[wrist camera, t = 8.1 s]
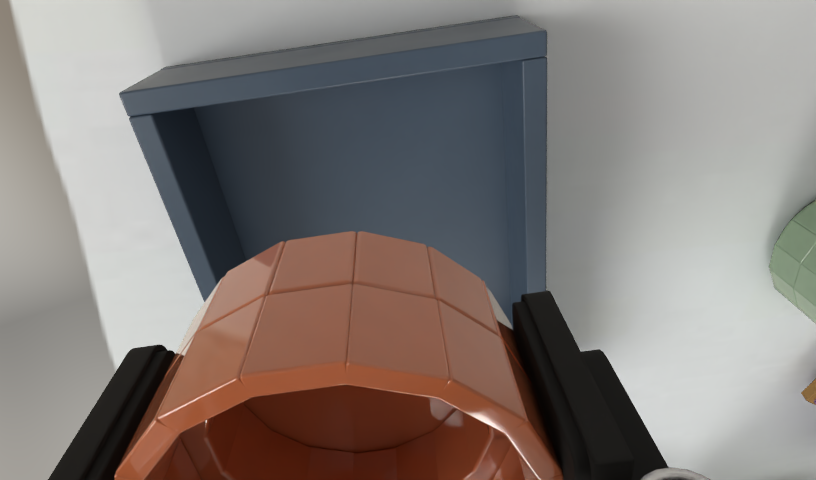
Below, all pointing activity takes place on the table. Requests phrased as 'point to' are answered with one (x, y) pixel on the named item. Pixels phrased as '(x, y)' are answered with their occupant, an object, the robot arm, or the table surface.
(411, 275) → the terracotta bowl
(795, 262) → the sage bowl
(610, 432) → the robot arm
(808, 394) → the toy figure
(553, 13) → the table surface
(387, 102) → the tub
